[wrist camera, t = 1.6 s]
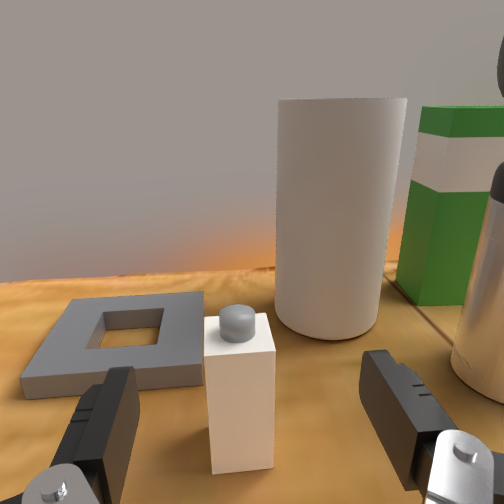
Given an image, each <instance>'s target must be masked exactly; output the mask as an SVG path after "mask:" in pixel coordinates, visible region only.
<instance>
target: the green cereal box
mask: <svg viewBox="0 0 504 504" xmlns="http://www.w3.org/2000/svg"><path fill="white" fill-rule="evenodd" d="M502 162H504V106H423V107H422V111H421V118H420V125H419V131H418V137H417V144H416V150H415V157H414V163H413V170H412V176H411V183H410V190H409V196H408V202H407V209H406V215H405V222H404V228H403V235H402V241H401V248H400V254H399V261H398V267H397V274H396V282H397V283H398V284H399V285H400V286H401V287H402V289H403V290H404V291H405V292H406V293H407V294H408V295H409V297H410V298H411V299H412V300H413V301H414V302H415V304H416V305H417V306H445V305H463V304H464V299H465V295H466V291H467V287H468V283H469V278H470V274H471V270H472V266H473V262H474V257H475V253H476V249H477V245H478V241H479V236H480V232H481V228H482V223H483V219H484V215H485V211H486V206H487V202H488V198H489V194H490V189H491V185H492V181H493V177H494V174H495V171H496V169H497V168H498V166H499V165H500V164H501V163H502Z"/></svg>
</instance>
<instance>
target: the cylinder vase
mask: <svg viewBox="0 0 504 504" xmlns="http://www.w3.org/2000/svg"><path fill="white" fill-rule="evenodd" d="M406 105H407V98H343V99H342V98H340V99H339V98H335V99H334V98H332V99H278V138H277V139H278V140H277V198H276V199H277V200H276V261H275V264H276V265H275V311H276V314H277V316H278V317H279V319H280V320H281V321H282V322H283V323H284V324H285V325H286V326H287V327H289V328H290V329H292V330H293V331H295V332H297V333H300V334H302V335H305V336H308V337H312V338H317V339H324V340H342V339H349V338H353V337H356V336H359V335H361V334H363V333H365V332H367V331H368V330H369V329H370V328H371V327H372V326H373V325H374V323H375V322H376V319H377V314H378V307H379V299H380V292H381V285H382V278H383V271H384V263H385V255H386V249H387V241H388V235H389V227H390V219H391V212H392V205H393V198H394V191H395V184H396V177H397V170H398V162H399V155H400V147H401V141H402V134H403V126H404V119H405V112H406Z"/></svg>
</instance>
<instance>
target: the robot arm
mask: <svg viewBox="0 0 504 504" xmlns="http://www.w3.org/2000/svg"><path fill="white" fill-rule="evenodd" d="M497 77H498V85H499V89H500V91H501V94H502V96H503V97H504V38H503V41H502V44H501V48H500V52H499V59H498V66H497ZM451 365H452V367H453V370H454V371H455V373H456V374H457V375H458V377H459V378H461V379H462V380H463V381H464V382H465V383H466V384H467V385H469V386H470V387H471V388H473V389H474V390H475V391H477V392H479V393H481V394H483V395H484V396H486V397H488V398H491V399H493V400H495V401H498V402H501V403H504V162H502V163H501V164H500V165H499V166H498V168H497V169H496V171H495V174H494V177H493V181H492V185H491V189H490V194H489V198H488V202H487V206H486V211H485V215H484V219H483V223H482V228H481V232H480V236H479V241H478V245H477V249H476V253H475V257H474V262H473V266H472V270H471V274H470V278H469V283H468V287H467V291H466V295H465V299H464V304H463V308H462V312H461V316H460V320H459V324H458V328H457V333H456V337H455V341H454V345H453V349H452V354H451ZM359 394H360V399H361V402H362V405H363V407H364V409H365V411H366V413H367V415H368V417H369V419H370V421H371V423H372V425H373V427H374V429H375V431H376V433H377V435H378V437H379V439H380V441H381V443H382V445H383V447H384V449H385V451H386V453H387V455H388V457H389V459H390V461H391V463H392V465H393V467H394V469H395V471H396V473H397V475H398V477H399V479H400V481H401V483H402V485H403V487H404V489H405V491H411V490H419V491H420V493H421V495H422V497H423V500H422V504H504V454H501V453H496V452H492V451H490V450H489V448H488V447H487V446H486V445H485V444H484V443H483V442H482V441H481V440H479V439H478V438H477V437H475V436H473V435H471V434H469V433H467V432H464V431H460V430H459V429H458V428H457V427H456V425H455V424H454V423H453V421H452V420H451V419H450V417H449V416H448V415H447V413H446V412H445V411H444V409H443V408H442V407H441V405H440V404H439V403H438V401H437V400H436V399H435V397H434V396H432V393H431V392H430V391H429V389H428V388H427V387H426V386H425V384H424V383H423V381H422V380H421V379H420V377H419V376H418V375H417V373H416V372H414V371H413V370H411V369H410V368H409V367H407V366H406V365H405V364H403V363H401V364H397V363H396V362H395V360H394V359H393V358H392V356H391V355H390V353H389V352H388V351H387V350H374V351H365V352H364V353H363V357H362V365H361V372H360V380H359ZM139 414H140V402H139V395H138V388H137V382H136V375H135V369H134V367H133V366H125V367H111V368H109V370H108V372H107V375H106V378H105V380H104V383H103V384H93V385H92V386H91V387H90V388H89V389H88V390H87V391H86V392H85V393H84V394H83V395H82V396H81V398H80V400H79V402H78V405H77V407H76V409H75V412H74V414H73V416H72V418H71V420H70V424H69V425H68V427H67V429H66V432H65V434H64V436H63V438H62V440H61V443H60V445H59V447H58V449H57V452H56V454H55V456H54V458H53V461H52V463H51V465H50V467H49V468H48V469H46V470H44V471H43V472H41V473H40V474H38V475H37V476H36V477H35V478H34V479H33V480H32V481H31V482H30V483H29V485H28V486H27V488H26V489H25V491H24V492H23V493H21V494H19V495H17V496H14V497H12V498H9V499H6V500H4V501H1V502H0V504H119V503H120V499H121V494H122V490H123V486H124V482H125V477H126V473H127V469H128V464H129V460H130V456H131V451H132V447H133V443H134V439H135V434H136V430H137V426H138V421H139Z"/></svg>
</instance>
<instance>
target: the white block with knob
mask: <svg viewBox="0 0 504 504" xmlns="http://www.w3.org/2000/svg"><path fill="white" fill-rule="evenodd" d="M204 366H205V380H206V394H207V408H208V421H209V435H210V449H211V463H212V475H214V474H224V473H233V472H242V471H252V470H261V469H271V468H274V427H275V374H276V349H275V345H274V342H273V338H272V334H271V330H270V327H269V323H268V319H267V315H266V313H255V311H254V309H253V308H251V307H249V306H247V305H242V304H234V305H229V306H226V307H224V308H223V309H221V310H220V312H219V316H210V317H204Z"/></svg>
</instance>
